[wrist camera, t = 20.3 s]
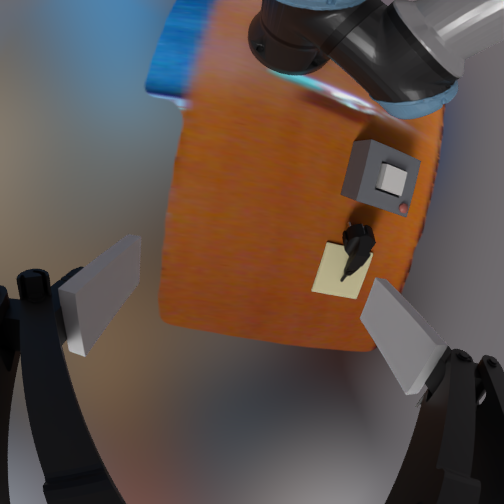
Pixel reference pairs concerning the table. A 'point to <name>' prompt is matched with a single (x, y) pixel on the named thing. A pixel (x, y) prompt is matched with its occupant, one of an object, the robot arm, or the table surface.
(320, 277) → the pad
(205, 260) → the table surface
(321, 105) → the table surface
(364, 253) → the power plug
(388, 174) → the button
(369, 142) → the switch box
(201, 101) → the table surface
